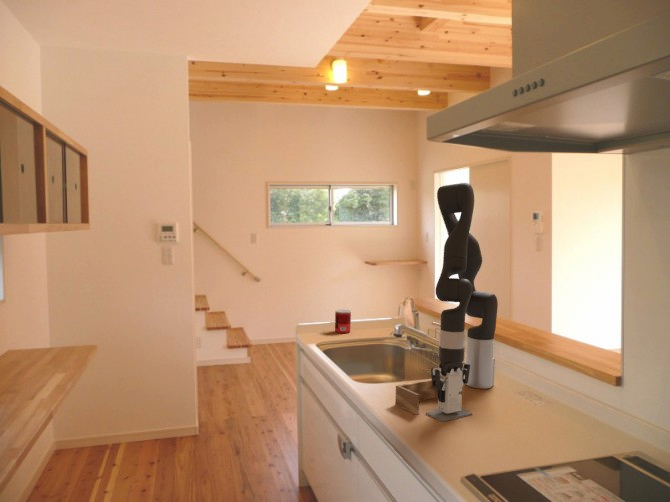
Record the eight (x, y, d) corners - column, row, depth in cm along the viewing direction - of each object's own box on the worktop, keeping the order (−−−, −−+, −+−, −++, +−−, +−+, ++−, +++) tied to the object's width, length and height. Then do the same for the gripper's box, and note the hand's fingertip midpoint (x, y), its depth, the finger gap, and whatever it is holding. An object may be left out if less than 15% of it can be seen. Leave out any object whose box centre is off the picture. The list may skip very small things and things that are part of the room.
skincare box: (447, 414, 157) (449, 373, 156) (436, 409, 161) (438, 370, 160) (462, 410, 161) (463, 370, 160) (451, 405, 164) (452, 367, 163)
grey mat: (455, 407, 167) (455, 406, 167) (471, 414, 161) (471, 413, 161) (425, 414, 160) (426, 412, 160) (442, 422, 155) (442, 420, 154)
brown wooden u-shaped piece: (438, 395, 178) (438, 377, 177) (459, 405, 169) (460, 386, 169) (395, 404, 168) (396, 385, 168) (416, 414, 160) (416, 395, 159)
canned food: (353, 332, 273) (354, 311, 272) (342, 334, 267) (343, 312, 266) (342, 329, 278) (342, 308, 277) (331, 331, 272) (332, 310, 272)
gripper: (460, 339, 166) (458, 392, 167) (425, 344, 159) (423, 400, 160) (478, 345, 160) (476, 400, 161) (442, 350, 152) (440, 407, 153)
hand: (449, 399), depth 160 cm, fingers closed on skincare box, 6 cm apart
